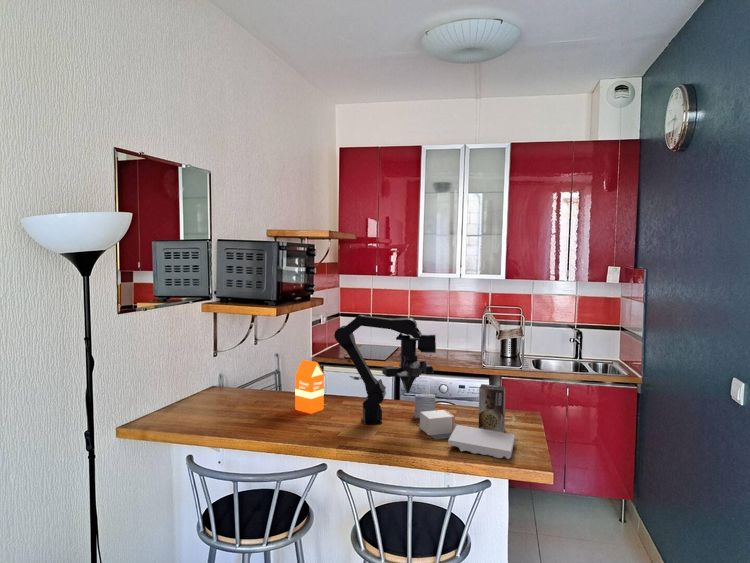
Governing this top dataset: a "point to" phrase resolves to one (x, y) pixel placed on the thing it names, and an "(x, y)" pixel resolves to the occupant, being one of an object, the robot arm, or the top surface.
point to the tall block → (437, 422)
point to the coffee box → (492, 407)
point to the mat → (441, 435)
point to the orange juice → (309, 387)
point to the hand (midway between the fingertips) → (407, 392)
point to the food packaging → (482, 441)
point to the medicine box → (424, 403)
